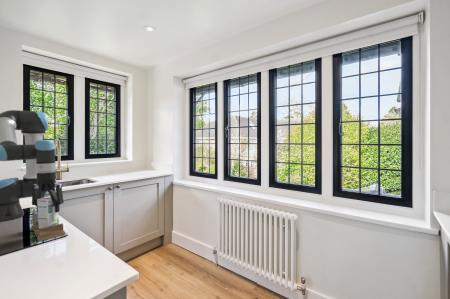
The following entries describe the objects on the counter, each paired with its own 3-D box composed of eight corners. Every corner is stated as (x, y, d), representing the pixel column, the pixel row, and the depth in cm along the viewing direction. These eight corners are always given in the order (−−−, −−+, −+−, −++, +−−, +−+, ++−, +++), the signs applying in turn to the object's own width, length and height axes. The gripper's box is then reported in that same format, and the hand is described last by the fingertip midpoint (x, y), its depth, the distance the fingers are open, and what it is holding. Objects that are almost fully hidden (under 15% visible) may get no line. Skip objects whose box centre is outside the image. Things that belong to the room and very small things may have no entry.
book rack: (32, 229, 121) (31, 211, 121) (55, 224, 128) (54, 207, 128) (38, 241, 105) (37, 220, 105) (65, 235, 113) (64, 215, 112)
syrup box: (48, 229, 111) (47, 199, 110) (38, 228, 112) (36, 198, 111) (59, 225, 116) (58, 196, 116) (49, 224, 118) (48, 195, 117)
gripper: (19, 173, 109) (22, 221, 110) (60, 172, 109) (62, 221, 110) (33, 171, 117) (35, 216, 118) (71, 170, 117) (73, 216, 118)
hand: (48, 218), depth 114 cm, fingers closed on syrup box, 6 cm apart
